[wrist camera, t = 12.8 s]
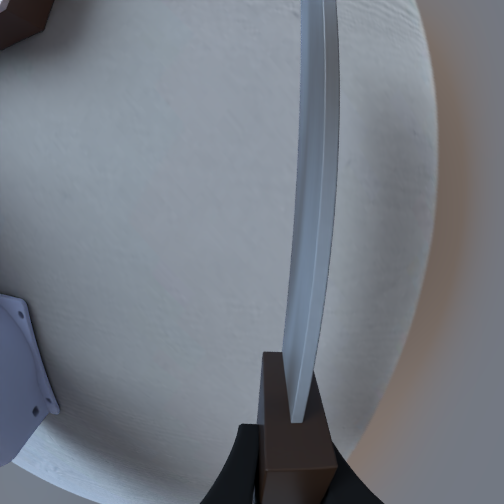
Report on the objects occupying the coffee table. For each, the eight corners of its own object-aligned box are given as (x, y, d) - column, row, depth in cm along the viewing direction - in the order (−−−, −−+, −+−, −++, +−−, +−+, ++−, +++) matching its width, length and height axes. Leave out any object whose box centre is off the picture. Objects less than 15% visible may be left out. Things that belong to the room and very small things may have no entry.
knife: (288, 455, 11) (296, 546, 6) (253, 455, 11) (251, 546, 6) (325, -33, 7) (357, -122, 2) (281, -38, 7) (291, -133, 2)
